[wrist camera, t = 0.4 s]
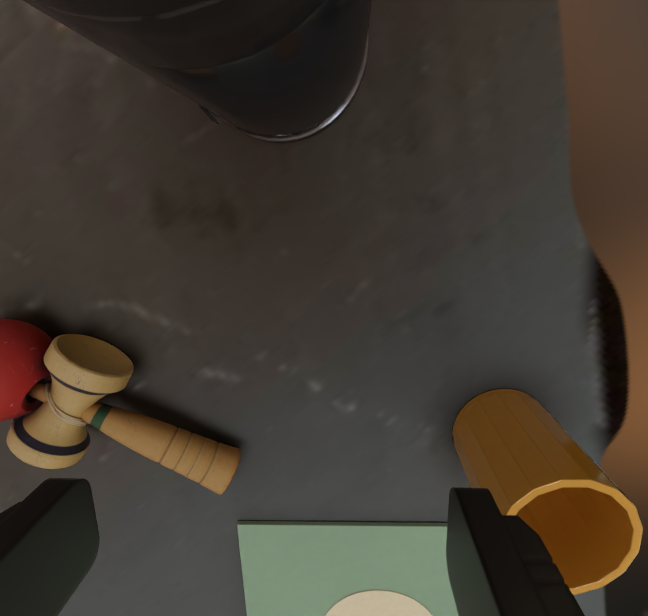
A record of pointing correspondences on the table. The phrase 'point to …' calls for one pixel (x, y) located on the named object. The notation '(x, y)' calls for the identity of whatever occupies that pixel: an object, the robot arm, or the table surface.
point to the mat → (345, 568)
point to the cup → (548, 486)
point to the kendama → (89, 407)
